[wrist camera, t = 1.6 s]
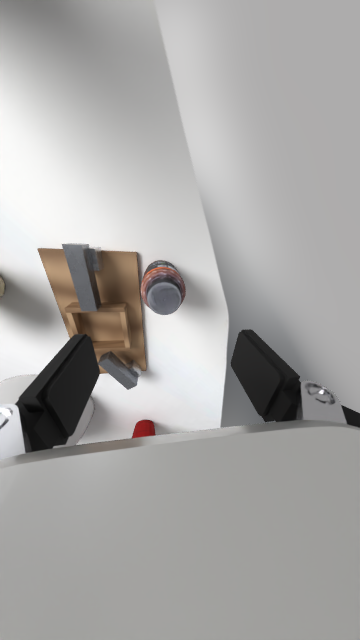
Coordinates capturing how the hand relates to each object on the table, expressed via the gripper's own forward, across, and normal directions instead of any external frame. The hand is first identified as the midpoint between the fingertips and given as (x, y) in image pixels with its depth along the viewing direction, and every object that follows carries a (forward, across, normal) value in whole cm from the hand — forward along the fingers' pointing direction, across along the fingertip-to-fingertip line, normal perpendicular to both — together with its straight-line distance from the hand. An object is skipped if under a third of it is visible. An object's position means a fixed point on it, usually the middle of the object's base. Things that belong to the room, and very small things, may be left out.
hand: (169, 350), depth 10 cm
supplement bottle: (+20, 0, 0) cm, 20 cm away
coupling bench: (+20, +11, +9) cm, 24 cm away
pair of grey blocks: (+19, +9, +9) cm, 23 cm away
